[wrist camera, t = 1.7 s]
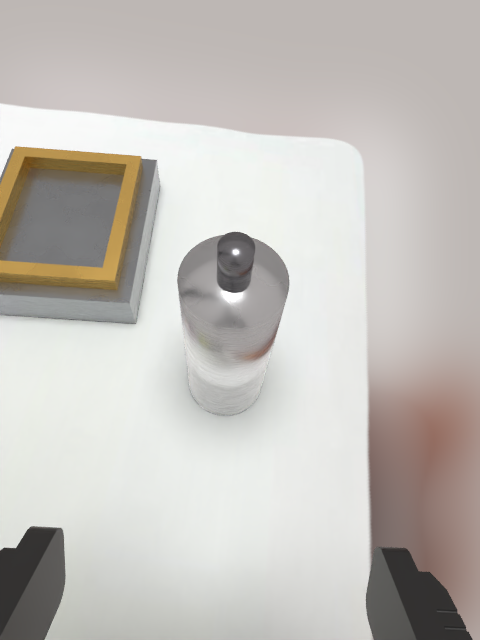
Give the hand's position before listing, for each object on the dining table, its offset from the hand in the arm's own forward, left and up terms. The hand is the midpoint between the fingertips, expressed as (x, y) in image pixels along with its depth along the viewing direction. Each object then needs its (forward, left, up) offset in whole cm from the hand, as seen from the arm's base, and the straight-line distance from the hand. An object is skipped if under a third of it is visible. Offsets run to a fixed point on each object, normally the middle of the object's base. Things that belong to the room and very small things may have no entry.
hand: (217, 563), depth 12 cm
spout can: (0, +12, -18) cm, 21 cm away
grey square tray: (-13, +23, -17) cm, 32 cm away
